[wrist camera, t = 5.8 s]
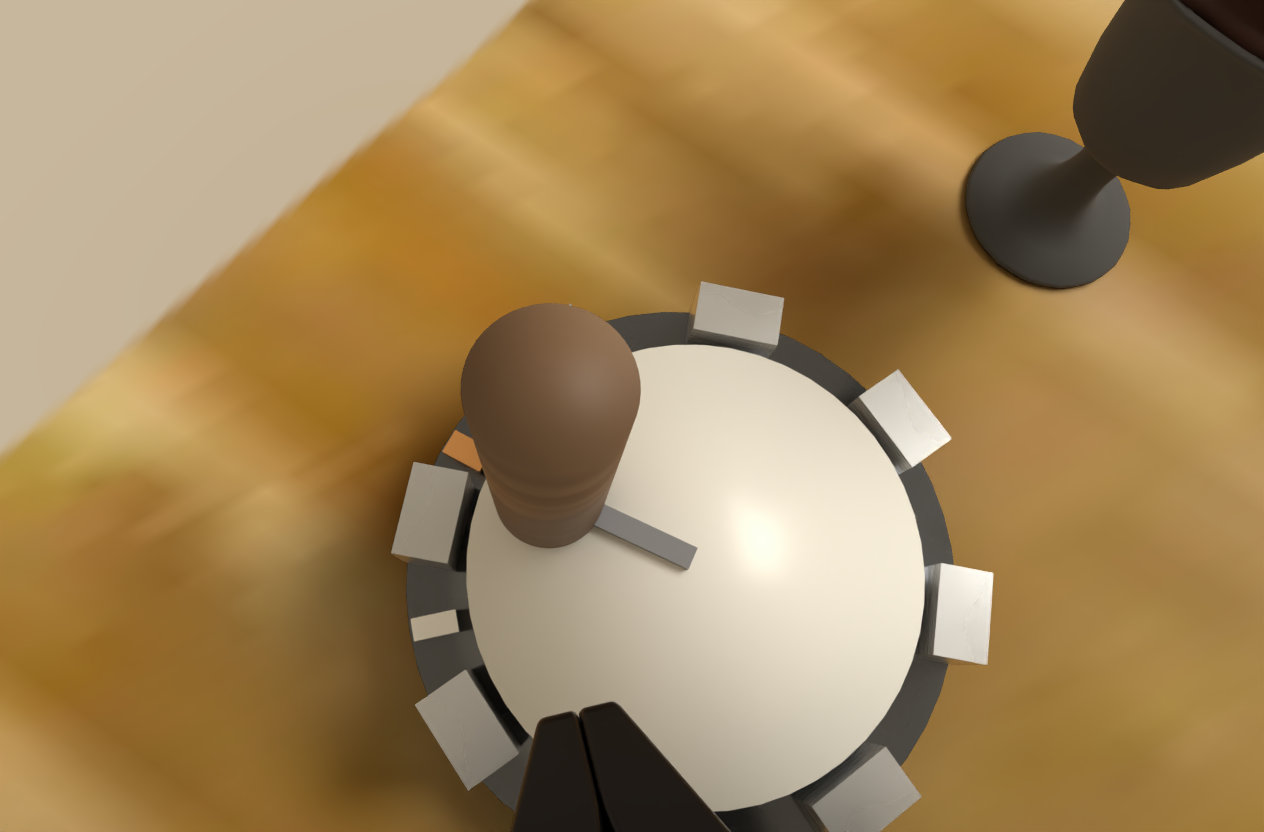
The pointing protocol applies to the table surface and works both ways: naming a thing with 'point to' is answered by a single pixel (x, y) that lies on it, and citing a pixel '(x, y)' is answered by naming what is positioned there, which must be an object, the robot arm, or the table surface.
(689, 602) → the dial
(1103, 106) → the sundae
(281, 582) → the table surface
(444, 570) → the dial plate
